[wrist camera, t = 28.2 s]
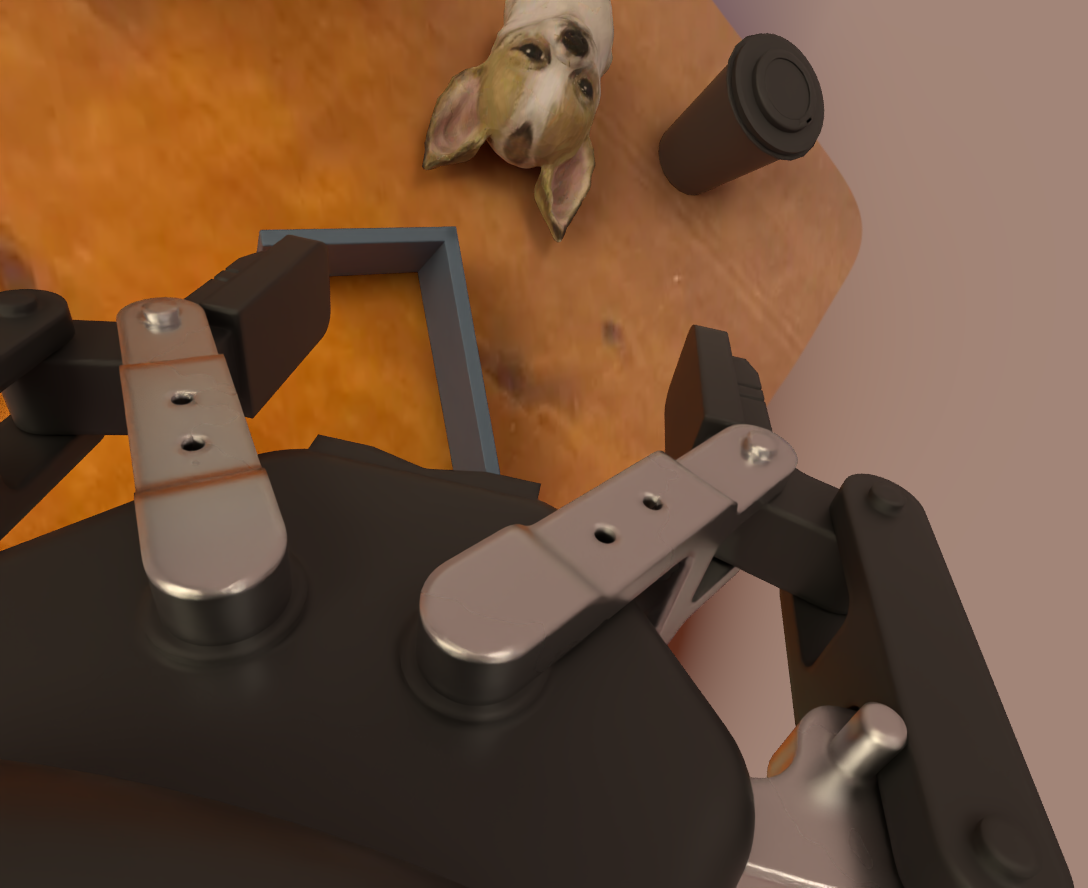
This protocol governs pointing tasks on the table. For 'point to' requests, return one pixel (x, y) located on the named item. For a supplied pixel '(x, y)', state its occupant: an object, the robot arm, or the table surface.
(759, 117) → the coffee cup
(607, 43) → the ceramic sculpture
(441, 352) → the grey u-shaped wall
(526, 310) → the table surface
